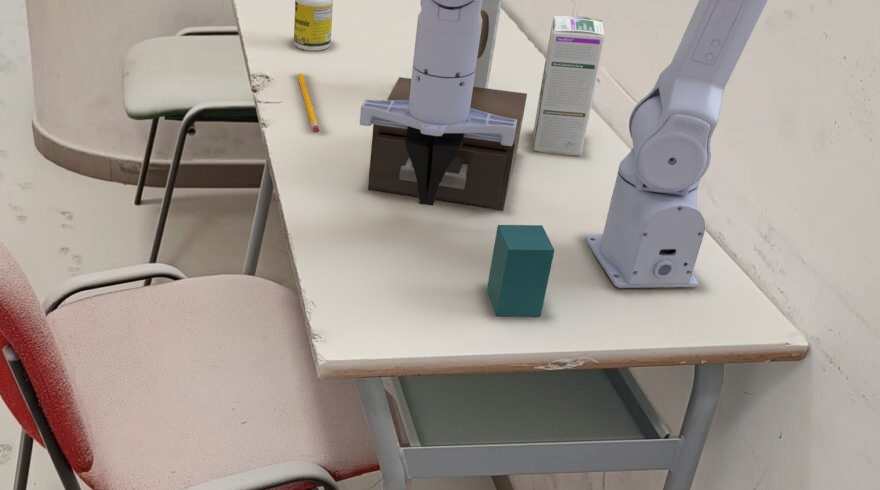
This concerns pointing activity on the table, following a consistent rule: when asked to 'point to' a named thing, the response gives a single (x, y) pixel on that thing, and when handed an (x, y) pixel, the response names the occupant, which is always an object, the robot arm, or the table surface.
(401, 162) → the drawer
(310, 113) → the pencil
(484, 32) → the supplement box
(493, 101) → the cabinet
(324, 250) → the table surface
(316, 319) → the table surface
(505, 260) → the teal rectangular block
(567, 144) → the syrup box
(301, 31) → the supplement bottle
